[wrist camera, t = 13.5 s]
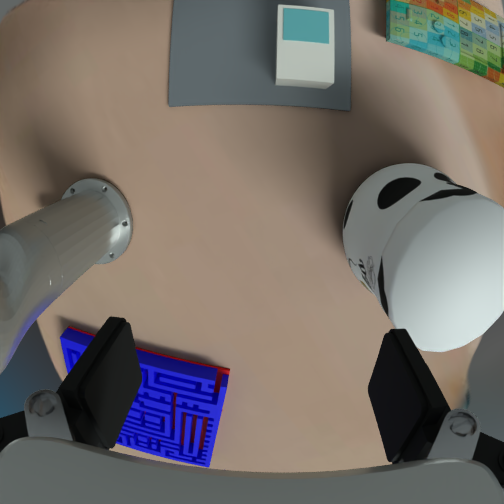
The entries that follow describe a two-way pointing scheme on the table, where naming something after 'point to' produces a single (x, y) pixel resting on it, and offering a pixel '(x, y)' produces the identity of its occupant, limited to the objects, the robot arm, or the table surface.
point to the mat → (247, 55)
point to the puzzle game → (450, 33)
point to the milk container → (428, 253)
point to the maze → (167, 403)
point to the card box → (305, 47)
